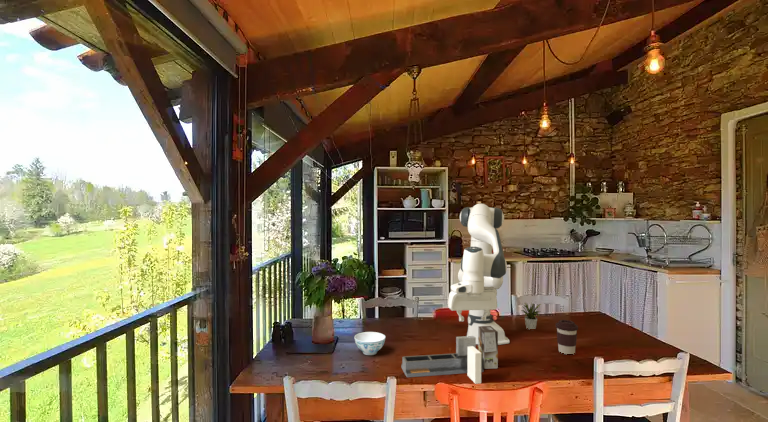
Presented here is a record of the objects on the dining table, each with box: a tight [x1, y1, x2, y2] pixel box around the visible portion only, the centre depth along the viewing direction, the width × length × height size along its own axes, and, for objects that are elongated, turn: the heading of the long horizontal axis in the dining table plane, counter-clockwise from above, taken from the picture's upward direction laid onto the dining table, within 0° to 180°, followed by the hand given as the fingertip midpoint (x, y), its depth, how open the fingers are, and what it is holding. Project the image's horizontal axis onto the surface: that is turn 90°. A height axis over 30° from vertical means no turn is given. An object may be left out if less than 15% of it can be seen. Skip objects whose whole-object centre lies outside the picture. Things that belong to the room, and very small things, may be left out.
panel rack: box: [400, 335, 484, 378], centre depth 163 cm, size 34×10×14 cm, turn 100°
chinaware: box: [354, 331, 386, 356], centre depth 183 cm, size 15×15×8 cm
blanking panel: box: [466, 346, 482, 385], centre depth 154 cm, size 8×2×12 cm, turn 10°
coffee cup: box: [555, 319, 579, 355], centre depth 185 cm, size 10×10×15 cm
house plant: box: [521, 301, 542, 330], centre depth 224 cm, size 14×14×16 cm
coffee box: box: [477, 326, 499, 370], centre depth 169 cm, size 9×6×16 cm
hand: (472, 320), depth 155 cm, fingers open, 8 cm apart
